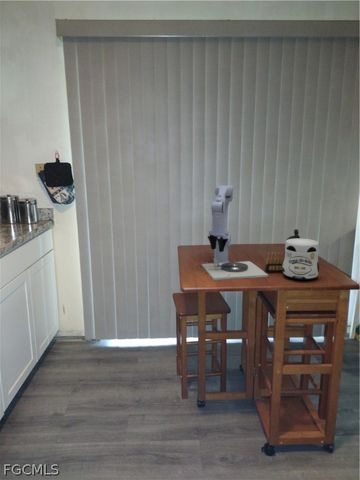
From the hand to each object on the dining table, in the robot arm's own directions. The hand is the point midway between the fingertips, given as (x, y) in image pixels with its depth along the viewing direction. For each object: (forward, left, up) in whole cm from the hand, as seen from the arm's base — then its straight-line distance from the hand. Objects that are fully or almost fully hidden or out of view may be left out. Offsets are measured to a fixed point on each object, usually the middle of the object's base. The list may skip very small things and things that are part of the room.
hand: (217, 250), depth 197 cm
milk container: (+20, +37, -11) cm, 43 cm away
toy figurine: (-20, +53, -11) cm, 57 cm away
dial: (+2, +7, -10) cm, 12 cm away
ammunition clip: (+9, +29, -11) cm, 32 cm away
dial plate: (+3, +8, -11) cm, 14 cm away
